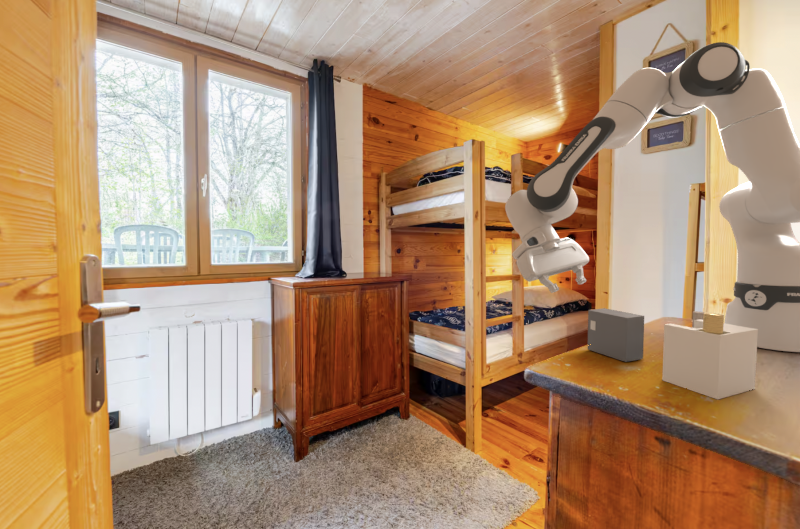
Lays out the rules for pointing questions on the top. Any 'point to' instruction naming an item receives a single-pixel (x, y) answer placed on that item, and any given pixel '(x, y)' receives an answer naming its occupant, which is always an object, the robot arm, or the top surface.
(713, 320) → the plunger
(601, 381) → the top surface
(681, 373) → the housing
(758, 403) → the top surface
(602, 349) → the cartridge
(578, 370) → the top surface
